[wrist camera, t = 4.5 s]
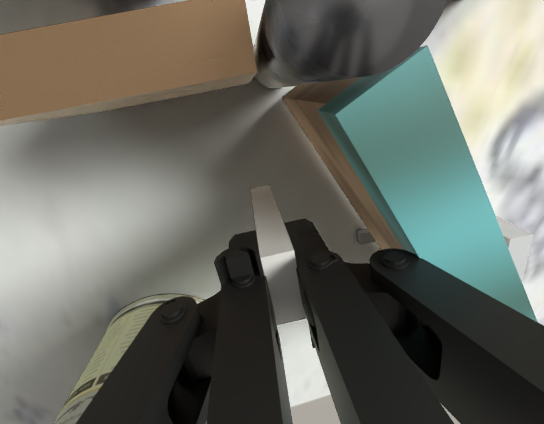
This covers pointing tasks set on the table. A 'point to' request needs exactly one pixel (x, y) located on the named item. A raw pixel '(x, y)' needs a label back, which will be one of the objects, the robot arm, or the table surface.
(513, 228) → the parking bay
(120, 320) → the coffee can
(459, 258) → the gate
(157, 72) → the gate posts
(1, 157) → the table surface
